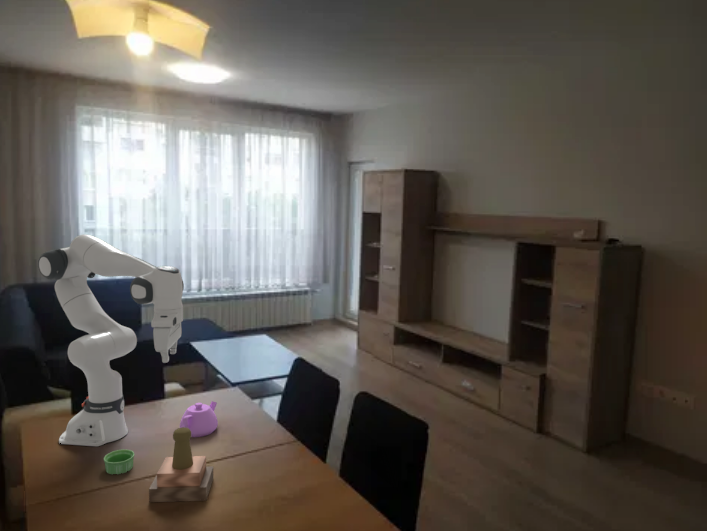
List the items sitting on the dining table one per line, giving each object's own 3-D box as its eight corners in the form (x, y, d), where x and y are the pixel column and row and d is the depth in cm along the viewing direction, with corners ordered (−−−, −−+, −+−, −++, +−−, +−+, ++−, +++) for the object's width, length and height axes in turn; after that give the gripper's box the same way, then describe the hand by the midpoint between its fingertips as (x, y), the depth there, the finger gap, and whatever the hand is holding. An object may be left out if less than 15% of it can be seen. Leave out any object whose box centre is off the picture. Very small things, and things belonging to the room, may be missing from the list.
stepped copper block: (149, 502, 146) (148, 475, 145) (160, 480, 158) (160, 455, 157) (206, 500, 148) (206, 474, 147) (213, 478, 160) (213, 454, 159)
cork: (186, 470, 149) (186, 434, 147) (167, 468, 150) (167, 432, 148) (196, 460, 154) (196, 426, 153) (178, 458, 156) (178, 424, 154)
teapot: (230, 422, 201) (230, 396, 200) (200, 444, 183) (199, 415, 181) (200, 417, 206) (200, 391, 205) (167, 437, 187) (167, 409, 186)
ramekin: (104, 464, 167) (104, 451, 166) (134, 459, 170) (134, 447, 170) (103, 478, 159) (102, 464, 158) (134, 472, 162) (134, 459, 162)
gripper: (167, 309, 175) (167, 349, 177) (149, 323, 155) (150, 367, 157) (185, 309, 176) (186, 348, 177) (170, 323, 156) (171, 367, 157)
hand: (169, 357), depth 167 cm, fingers open, 8 cm apart
